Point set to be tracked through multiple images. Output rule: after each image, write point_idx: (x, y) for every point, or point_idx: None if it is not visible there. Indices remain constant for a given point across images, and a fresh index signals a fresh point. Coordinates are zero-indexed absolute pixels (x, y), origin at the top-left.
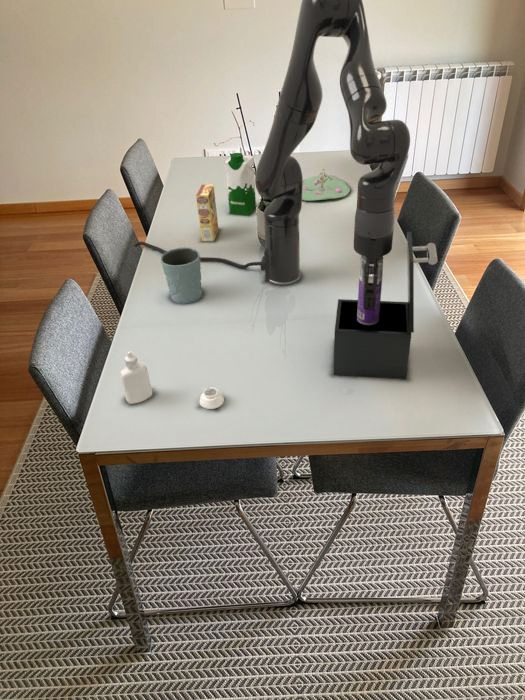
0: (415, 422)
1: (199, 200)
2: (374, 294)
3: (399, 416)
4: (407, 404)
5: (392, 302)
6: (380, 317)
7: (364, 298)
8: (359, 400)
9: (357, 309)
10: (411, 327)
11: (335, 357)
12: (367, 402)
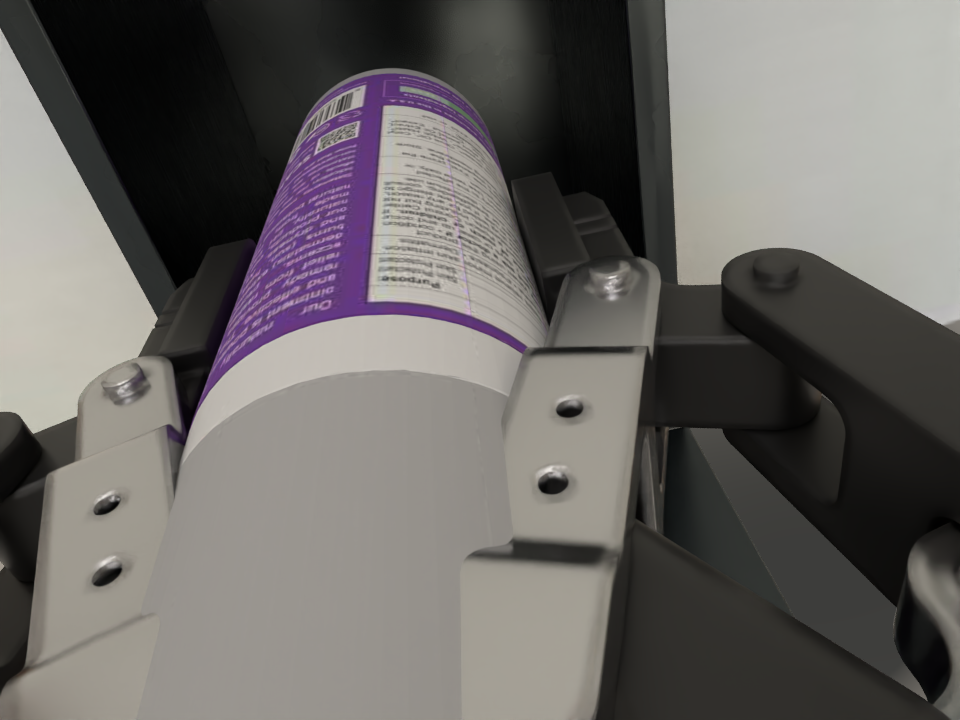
0: (28, 397)
1: None
2: (2, 584)
3: (20, 335)
4: (126, 348)
5: None
6: (605, 188)
7: (174, 326)
8: (2, 127)
9: (354, 105)
10: None
11: None
12: (16, 173)
